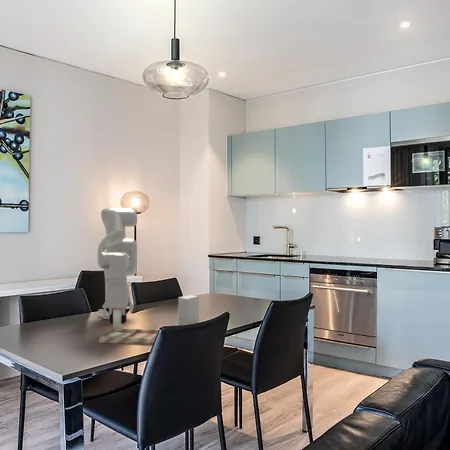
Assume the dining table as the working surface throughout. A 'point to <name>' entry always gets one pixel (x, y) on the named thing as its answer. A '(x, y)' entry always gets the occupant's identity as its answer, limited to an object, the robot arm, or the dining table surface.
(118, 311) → the cylinder
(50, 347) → the dining table surface
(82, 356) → the dining table surface
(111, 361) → the dining table surface
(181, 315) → the skincare box
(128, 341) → the sorting tray
